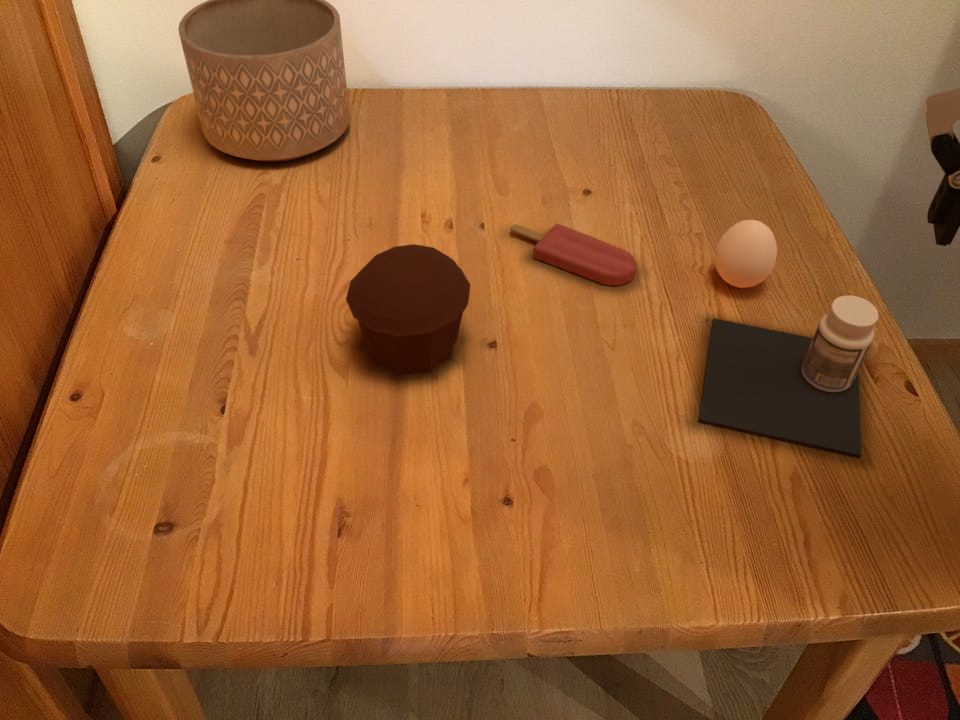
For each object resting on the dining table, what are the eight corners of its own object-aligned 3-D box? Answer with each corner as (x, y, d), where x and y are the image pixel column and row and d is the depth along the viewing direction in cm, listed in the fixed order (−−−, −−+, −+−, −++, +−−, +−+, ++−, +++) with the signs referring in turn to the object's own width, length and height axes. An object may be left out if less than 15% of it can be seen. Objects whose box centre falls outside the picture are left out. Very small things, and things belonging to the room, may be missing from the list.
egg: (696, 274, 91) (712, 216, 85) (740, 257, 93) (757, 199, 88) (734, 307, 87) (753, 249, 82) (778, 289, 89) (799, 231, 84)
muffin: (396, 289, 88) (390, 210, 81) (490, 325, 85) (492, 246, 78) (329, 360, 81) (317, 280, 74) (429, 403, 77) (426, 323, 70)
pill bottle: (823, 351, 82) (852, 285, 76) (862, 381, 80) (895, 315, 74) (789, 369, 81) (816, 303, 75) (828, 401, 78) (859, 335, 72)
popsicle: (523, 209, 96) (645, 255, 91) (523, 220, 97) (642, 266, 92) (499, 233, 93) (623, 282, 87) (498, 244, 94) (621, 293, 88)
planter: (352, 93, 117) (342, -12, 107) (348, 168, 104) (336, 56, 94) (215, 96, 116) (192, -11, 105) (194, 172, 103) (164, 59, 92)
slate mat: (856, 349, 83) (857, 346, 83) (859, 458, 74) (861, 455, 73) (712, 320, 86) (713, 318, 86) (698, 422, 76) (698, 419, 76)
